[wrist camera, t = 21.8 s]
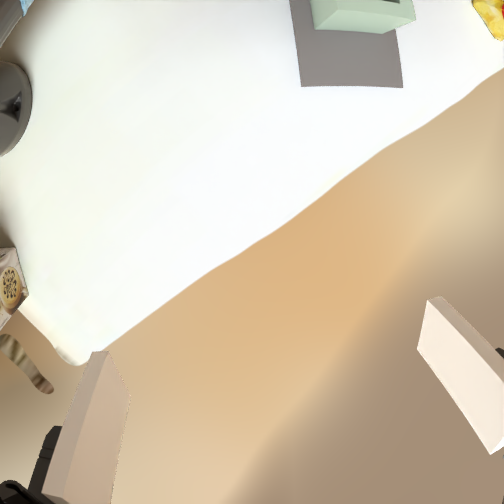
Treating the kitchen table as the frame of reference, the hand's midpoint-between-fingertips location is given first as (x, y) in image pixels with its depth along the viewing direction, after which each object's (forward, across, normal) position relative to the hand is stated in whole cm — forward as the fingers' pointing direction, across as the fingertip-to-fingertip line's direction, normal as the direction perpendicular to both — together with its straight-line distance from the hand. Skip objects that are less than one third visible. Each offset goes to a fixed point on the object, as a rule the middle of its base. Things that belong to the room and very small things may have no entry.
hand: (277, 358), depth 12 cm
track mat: (+33, +18, +21) cm, 43 cm away
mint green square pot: (+33, +18, +25) cm, 45 cm away
